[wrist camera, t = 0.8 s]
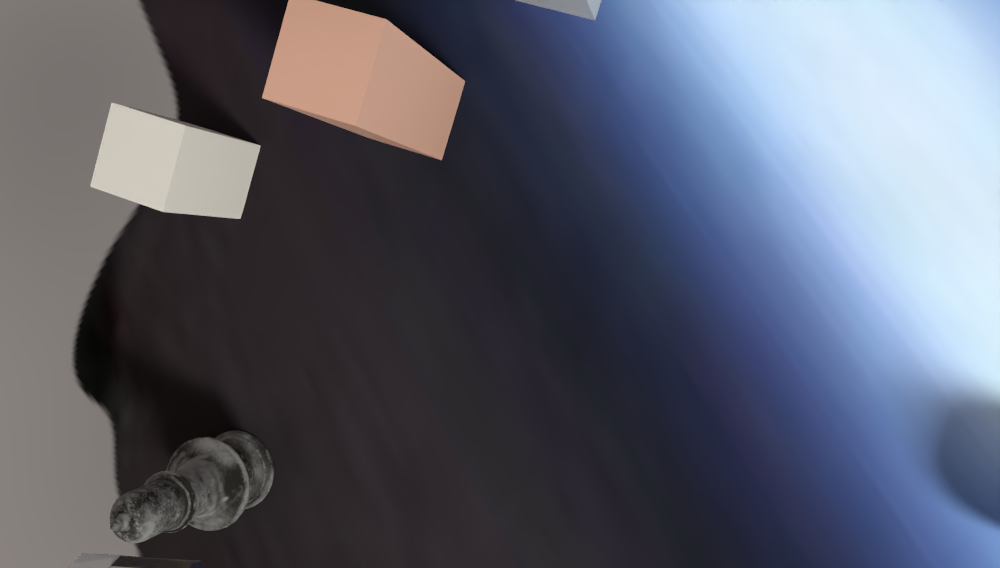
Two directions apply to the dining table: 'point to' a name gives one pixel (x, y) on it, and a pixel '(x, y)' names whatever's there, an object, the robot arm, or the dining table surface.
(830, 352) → the dining table surface
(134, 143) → the off-white block
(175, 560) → the robot arm
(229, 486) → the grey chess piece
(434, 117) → the coral block
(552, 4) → the grey-blue block
